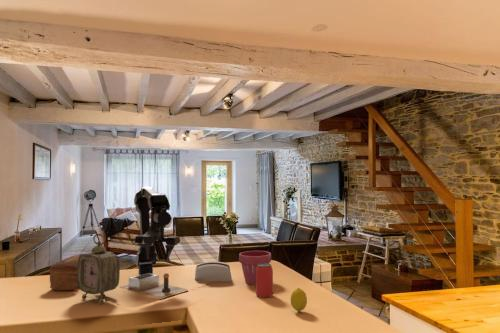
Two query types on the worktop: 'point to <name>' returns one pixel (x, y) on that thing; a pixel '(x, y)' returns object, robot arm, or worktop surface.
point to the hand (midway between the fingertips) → (157, 260)
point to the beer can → (264, 280)
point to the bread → (65, 274)
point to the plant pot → (253, 263)
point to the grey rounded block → (213, 271)
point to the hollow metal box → (143, 281)
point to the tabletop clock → (98, 271)
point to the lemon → (298, 299)
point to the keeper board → (160, 289)
